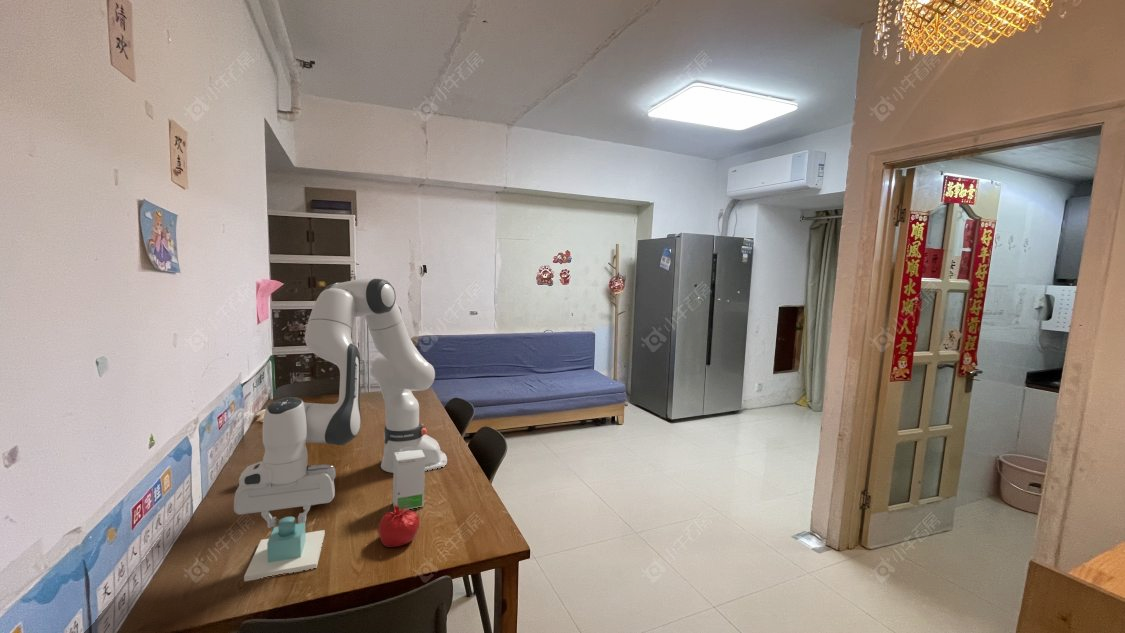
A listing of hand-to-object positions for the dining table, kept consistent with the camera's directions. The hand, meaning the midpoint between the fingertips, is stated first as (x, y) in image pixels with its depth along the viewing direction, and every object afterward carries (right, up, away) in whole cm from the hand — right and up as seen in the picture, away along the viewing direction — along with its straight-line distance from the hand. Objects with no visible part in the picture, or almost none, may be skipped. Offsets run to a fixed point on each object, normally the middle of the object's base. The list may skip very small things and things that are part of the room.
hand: (287, 523), depth 105 cm
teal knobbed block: (0, -7, +1) cm, 7 cm away
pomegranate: (+23, -9, +9) cm, 26 cm away
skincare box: (+20, -7, +26) cm, 33 cm away
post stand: (0, -8, +1) cm, 8 cm away
